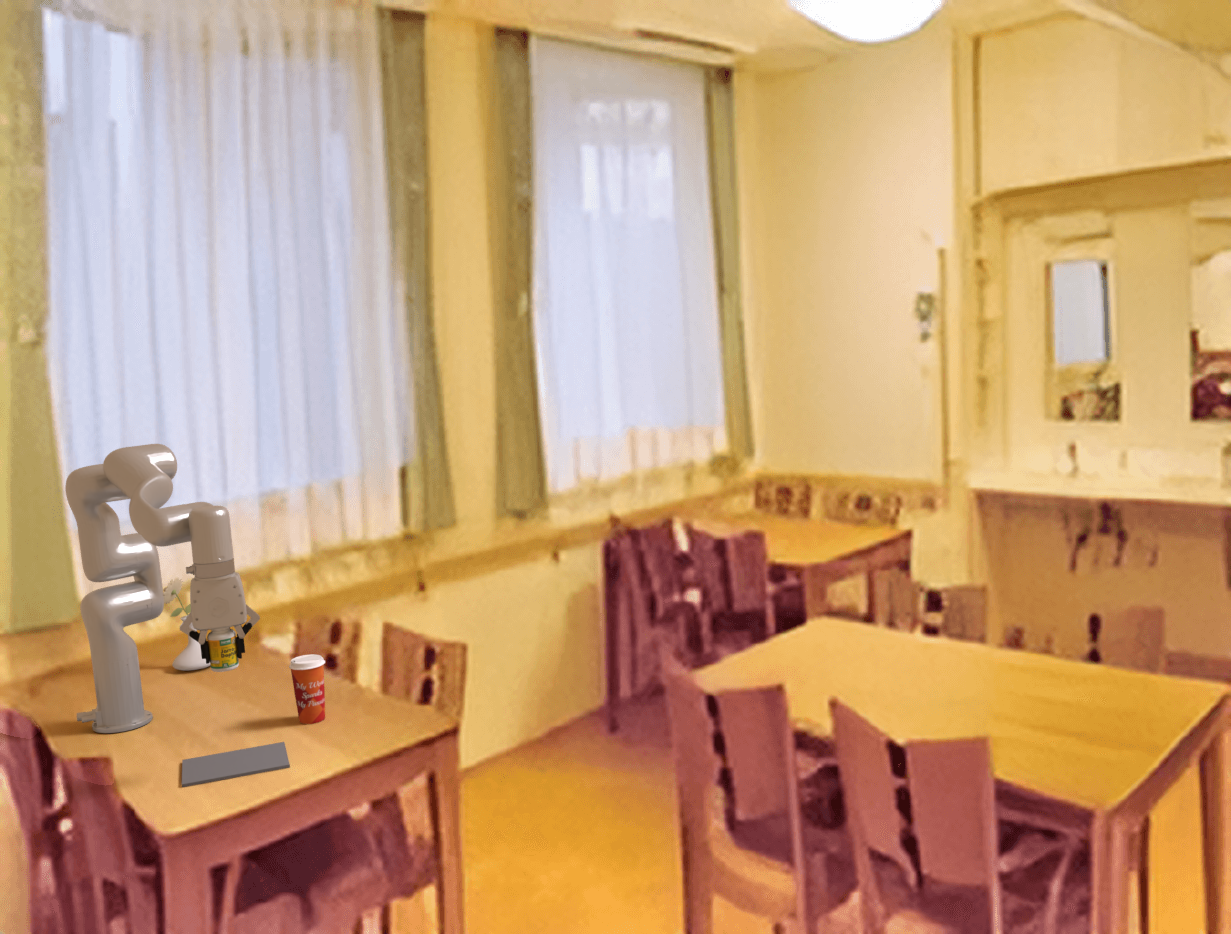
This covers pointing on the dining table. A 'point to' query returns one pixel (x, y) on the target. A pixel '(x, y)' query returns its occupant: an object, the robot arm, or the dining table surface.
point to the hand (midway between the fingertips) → (224, 658)
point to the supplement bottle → (223, 649)
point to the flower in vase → (192, 653)
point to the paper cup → (309, 687)
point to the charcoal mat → (234, 764)
